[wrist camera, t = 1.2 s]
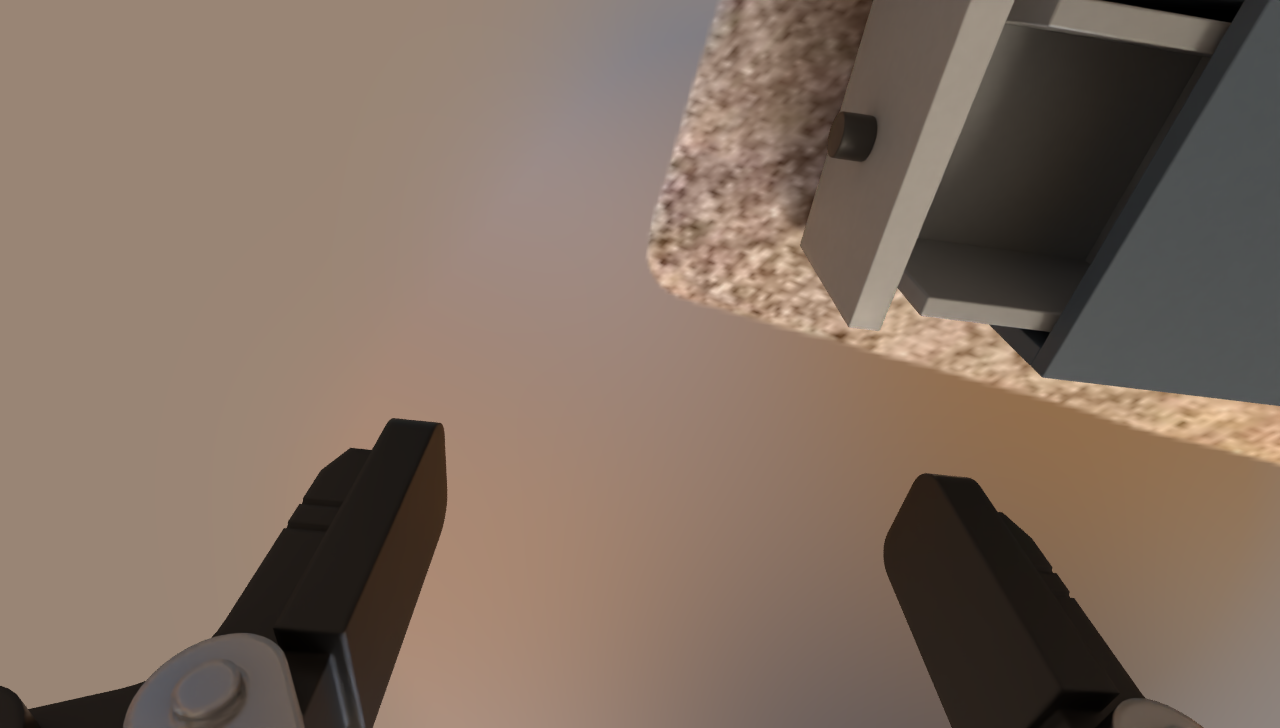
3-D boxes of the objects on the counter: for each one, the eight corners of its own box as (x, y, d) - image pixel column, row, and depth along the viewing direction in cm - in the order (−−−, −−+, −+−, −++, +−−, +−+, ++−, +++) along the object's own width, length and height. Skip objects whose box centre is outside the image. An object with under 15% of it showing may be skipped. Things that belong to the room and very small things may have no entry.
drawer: (774, 242, 28) (815, 323, 22) (854, -51, 22) (946, -62, 16) (1069, 281, 29) (1192, 370, 23) (1223, 13, 23) (1453, 28, 17)
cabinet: (932, 269, 30) (1041, 378, 22) (1064, -33, 23) (1291, -35, 15) (1203, 305, 31) (1401, 421, 23) (1403, 27, 24) (1784, 54, 16)
